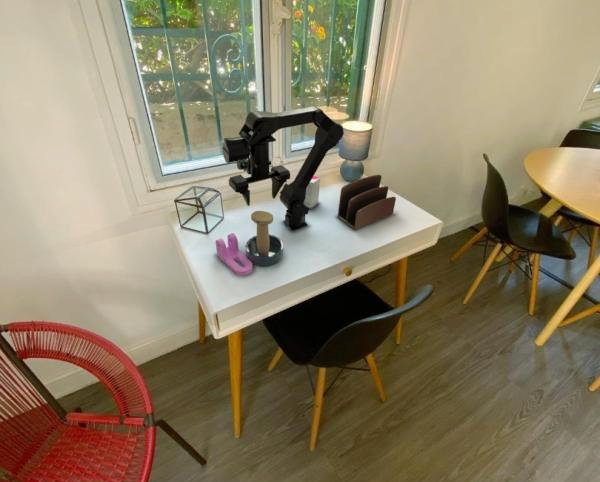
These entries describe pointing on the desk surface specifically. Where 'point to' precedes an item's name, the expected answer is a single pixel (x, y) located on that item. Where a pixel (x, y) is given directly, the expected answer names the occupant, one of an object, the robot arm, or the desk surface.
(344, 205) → the letter holder
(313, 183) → the supplement box
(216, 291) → the desk surface
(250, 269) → the bracket
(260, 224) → the handle
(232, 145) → the robot arm
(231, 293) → the desk surface
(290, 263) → the desk surface
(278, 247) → the dark grey ring
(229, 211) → the desk surface
